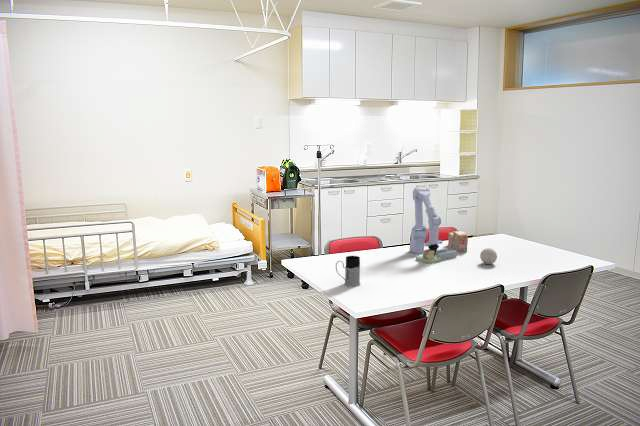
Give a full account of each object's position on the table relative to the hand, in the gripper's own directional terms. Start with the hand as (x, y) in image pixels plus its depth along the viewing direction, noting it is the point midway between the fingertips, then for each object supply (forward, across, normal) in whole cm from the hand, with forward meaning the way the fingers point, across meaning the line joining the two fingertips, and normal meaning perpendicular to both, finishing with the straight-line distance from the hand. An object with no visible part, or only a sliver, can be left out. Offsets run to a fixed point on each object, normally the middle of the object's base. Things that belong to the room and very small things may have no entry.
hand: (432, 255), depth 333 cm
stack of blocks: (+3, +38, +11) cm, 39 cm away
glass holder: (+3, -77, -9) cm, 78 cm away
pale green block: (+3, +4, 0) cm, 5 cm away
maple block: (+1, -4, 0) cm, 4 cm away
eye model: (+3, +22, -26) cm, 34 cm away
